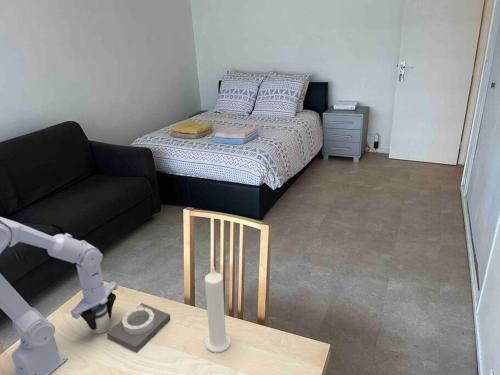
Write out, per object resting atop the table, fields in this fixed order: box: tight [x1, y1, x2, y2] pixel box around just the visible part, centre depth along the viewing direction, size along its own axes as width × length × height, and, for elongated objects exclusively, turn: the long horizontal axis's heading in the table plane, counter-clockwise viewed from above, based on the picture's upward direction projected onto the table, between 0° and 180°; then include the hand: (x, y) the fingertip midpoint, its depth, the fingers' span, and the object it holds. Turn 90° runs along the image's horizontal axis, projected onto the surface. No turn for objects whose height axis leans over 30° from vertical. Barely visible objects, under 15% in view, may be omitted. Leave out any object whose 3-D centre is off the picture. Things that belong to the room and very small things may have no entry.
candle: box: [204, 266, 232, 354], centre depth 100 cm, size 7×7×25 cm
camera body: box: [106, 302, 171, 353], centre depth 109 cm, size 14×11×4 cm
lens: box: [90, 303, 111, 335], centre depth 109 cm, size 5×5×7 cm
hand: (100, 322), depth 110 cm, fingers closed on lens, 5 cm apart
